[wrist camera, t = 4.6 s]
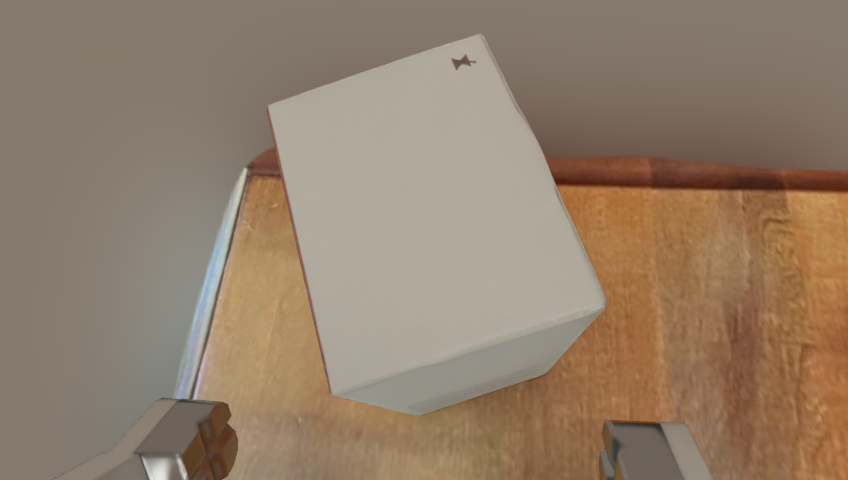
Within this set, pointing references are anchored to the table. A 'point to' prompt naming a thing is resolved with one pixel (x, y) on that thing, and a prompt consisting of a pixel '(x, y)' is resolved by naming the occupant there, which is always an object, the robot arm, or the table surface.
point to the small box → (430, 232)
